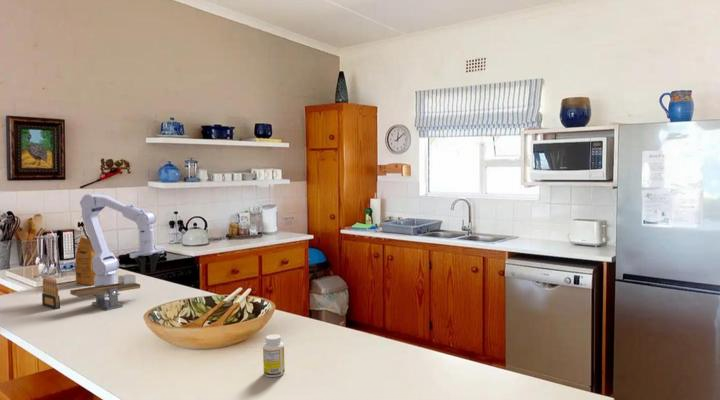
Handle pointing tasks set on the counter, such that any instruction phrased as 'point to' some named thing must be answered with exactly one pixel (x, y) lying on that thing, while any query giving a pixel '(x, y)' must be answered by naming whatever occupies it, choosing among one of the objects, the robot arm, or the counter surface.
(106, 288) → the wooden tray
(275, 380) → the counter surface
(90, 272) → the coffee package
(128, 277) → the block
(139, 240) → the robot arm
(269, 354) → the supplement bottle
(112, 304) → the stand
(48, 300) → the ammunition clip
